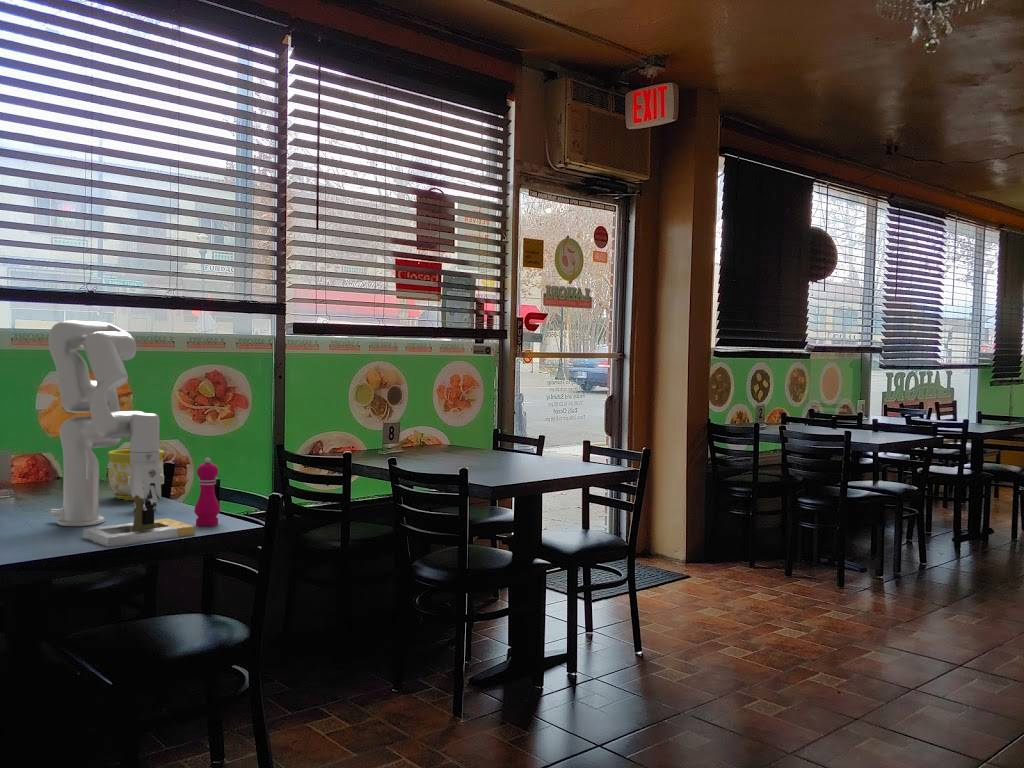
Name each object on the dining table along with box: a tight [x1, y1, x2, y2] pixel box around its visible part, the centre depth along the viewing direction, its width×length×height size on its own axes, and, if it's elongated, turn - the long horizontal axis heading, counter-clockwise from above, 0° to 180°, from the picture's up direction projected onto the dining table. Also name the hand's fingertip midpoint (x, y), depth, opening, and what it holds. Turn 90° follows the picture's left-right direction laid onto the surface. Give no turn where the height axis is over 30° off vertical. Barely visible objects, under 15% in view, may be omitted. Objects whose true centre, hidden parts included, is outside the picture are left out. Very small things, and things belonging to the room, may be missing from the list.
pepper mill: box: [194, 457, 221, 527], centre depth 263 cm, size 7×7×20 cm
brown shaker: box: [132, 495, 155, 532], centre depth 245 cm, size 6×6×11 cm
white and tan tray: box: [82, 518, 196, 548], centre depth 245 cm, size 24×16×2 cm, turn 137°
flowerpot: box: [107, 448, 165, 501], centre depth 308 cm, size 18×18×16 cm
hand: (144, 522), depth 246 cm, fingers closed on brown shaker, 4 cm apart
